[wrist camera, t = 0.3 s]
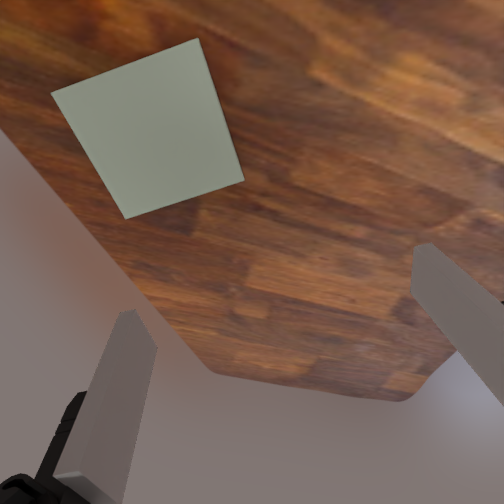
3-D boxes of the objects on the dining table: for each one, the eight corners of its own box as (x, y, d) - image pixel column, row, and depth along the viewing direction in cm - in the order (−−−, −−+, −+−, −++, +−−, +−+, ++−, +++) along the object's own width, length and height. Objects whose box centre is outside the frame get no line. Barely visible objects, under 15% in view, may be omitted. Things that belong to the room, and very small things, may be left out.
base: (59, 91, 32) (50, 92, 31) (199, 39, 31) (197, 37, 29) (129, 212, 40) (125, 219, 38) (243, 175, 39) (244, 180, 37)
